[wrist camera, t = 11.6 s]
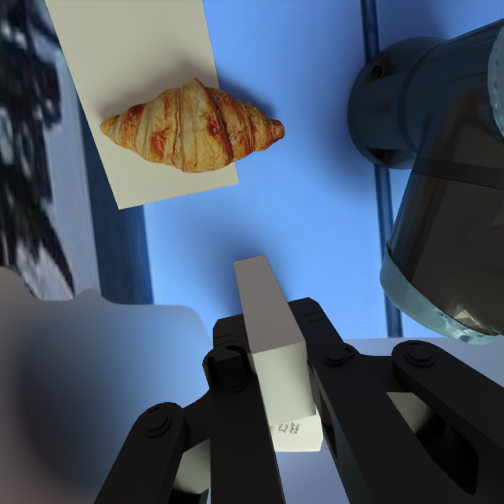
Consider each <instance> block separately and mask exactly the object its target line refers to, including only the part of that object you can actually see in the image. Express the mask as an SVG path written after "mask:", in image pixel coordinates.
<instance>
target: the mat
mask: <svg viewBox="0 0 504 504" xmlns="http://www.w3.org/2000/svg"><path fill="white" fill-rule="evenodd" d="M45 2H46V5H47V8H48V11H49V14H50V16H51V19H52V22H53V25H54V28H55V30H56V33H57V36H58V39H59V42H60V45H61V47H62V50H63V53H64V56H65V59H66V61H67V64H68V67H69V70H70V73H71V76H72V78H73V81H74V84H75V87H76V90H77V92H78V95H79V98H80V101H81V104H82V107H83V109H84V112H85V115H86V118H87V121H88V123H89V126H90V129H91V132H92V135H93V138H94V140H95V143H96V146H97V149H98V152H99V154H100V157H101V160H102V163H103V166H104V169H105V171H106V174H107V177H108V180H109V183H110V185H111V188H112V191H113V194H114V197H115V200H116V202H117V205H118V208H119V209H124V208H128V207H133V206H137V205H142V204H147V203H151V202H156V201H161V200H165V199H170V198H175V197H179V196H184V195H189V194H193V193H198V192H203V191H207V190H212V189H217V188H221V187H226V186H230V185H235V184H239V180H238V175H237V170H236V165H235V162H232V163H231V164H229V165H228V166H226V167H223V168H221V169H218V170H215V171H208V172H202V173H185V172H183V171H182V170H181V169H176V168H175V167H173V166H168V165H165V164H161V163H159V164H157V163H152V162H149V161H146V160H145V159H143V158H142V157H141V156H140V155H138V154H137V153H134V152H132V151H131V150H129V149H125V148H123V147H121V146H118V145H116V144H115V143H114V142H113V141H112V140H111V139H110V138H108V137H107V136H106V135H104V134H103V133H102V131H101V129H100V127H99V126H100V125H101V123H102V122H103V121H105V120H106V118H107V117H108V116H112V115H119V114H121V113H122V112H125V111H126V110H128V109H129V108H130V107H132V106H134V105H138V104H143V103H146V102H150V101H152V100H154V99H155V98H157V97H158V95H159V94H160V93H162V92H164V90H166V89H174V88H181V87H182V85H183V84H184V83H185V82H186V81H187V80H188V79H189V78H192V77H194V78H197V79H198V80H199V81H201V82H202V84H203V85H204V86H205V87H210V88H216V89H220V87H219V82H218V77H217V72H216V67H215V62H214V57H213V53H212V48H211V43H210V38H209V33H208V28H207V23H206V18H205V13H204V8H203V3H202V0H45Z"/></svg>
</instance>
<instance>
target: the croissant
mask: <svg viewBox="0 0 504 504" xmlns="http://www.w3.org/2000/svg"><path fill="white" fill-rule="evenodd" d="M99 127H100V129H101V131H102V133H103V134H104V135H106V136H107V137H108V138H110V139H111V140H112V141H113V142H114V143H115V144H116V145H118V146H121V147H123V148H125V149H129V150H131V151H132V152H134V153H137V154H138V155H140V156H141V157H142V158H143V159H145V160H146V161H149V162H152V163H157V164H159V163H161V164H165V165H168V166H173V167H175V168H176V169H181V170H182V171H183V172H185V173H202V172H208V171H215V170H218V169H221V168H223V167H226V166H228V165H229V164H231V163H232V162H235V161H237V160H240V159H242V158H244V157H246V156H247V155H249V154H250V153H252V152H253V151H263V150H266V149H267V148H268V147H269V146H271V145H272V144H273V143H275V142H277V141H278V140H279V139H282V138H283V137H284V135H285V131H284V126H283V125H282V123H281V122H280V121H279V120H275V119H268V118H266V117H265V116H264V115H263V113H262V112H261V111H260V110H259V109H258V108H257V107H255V106H254V105H252V104H250V103H249V102H247V103H244V102H242V101H241V100H240V99H233V98H232V97H231V96H230V95H229V94H228V93H227V92H225V91H223V90H221V89H216V88H210V87H205V86H204V85H203V84H202V82H201V81H199V80H198V79H197V78H194V77H192V78H189V79H188V80H187V81H186V82H185V83H184V84H183V85H182V87H181V88H174V89H166V90H164V92H162V93H160V94H159V95H158V97H157V98H155V99H154V100H152V101H150V102H146V103H143V104H138V105H134V106H132V107H130V108H129V109H128V110H126V111H125V112H122V113H121V114H119V115H112V116H108V117H107V118H106V120H105V121H103V122H102V123H101V125H100V126H99Z"/></svg>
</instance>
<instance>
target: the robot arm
mask: <svg viewBox="0 0 504 504" xmlns="http://www.w3.org/2000/svg"><path fill="white" fill-rule="evenodd" d="M348 125H349V130H350V134H351V137H352V140H353V142H354V144H355V146H356V147H357V149H358V150H359V152H360V153H361V154H362V155H363V156H364V157H365V158H366V159H368V160H369V161H370V162H372V163H374V164H376V165H378V166H381V167H386V168H391V169H399V170H403V169H412V171H411V173H410V176H409V179H408V183H407V186H406V189H405V192H404V195H403V198H402V202H401V205H400V208H399V211H398V214H397V217H396V220H395V223H394V226H393V229H392V232H391V235H390V238H389V240H388V241H387V243H386V246H385V255H384V260H383V264H382V267H381V271H380V283H381V286H382V288H383V290H384V291H385V293H386V295H387V297H388V298H389V299H390V300H391V302H392V303H393V304H394V305H395V306H396V307H398V308H399V309H400V310H401V311H402V312H403V313H405V314H406V315H407V316H409V317H410V318H412V319H413V320H415V321H416V322H418V323H420V324H421V325H423V326H425V327H426V328H428V329H430V330H432V331H434V332H436V333H438V334H440V335H443V336H445V337H448V338H451V339H454V340H456V339H458V338H459V339H460V340H462V341H464V342H465V343H468V344H476V345H483V344H488V343H490V342H492V341H493V340H495V339H497V338H498V337H499V336H500V334H501V335H503V336H504V18H503V19H500V20H498V21H495V22H493V23H490V24H488V25H485V26H483V27H480V28H478V29H475V30H473V31H470V32H468V33H465V34H463V35H460V36H458V37H455V38H453V39H451V40H444V39H438V38H432V37H415V38H409V39H406V40H403V41H400V42H398V43H396V44H394V45H391V46H389V47H387V48H386V49H384V50H382V51H381V52H379V53H378V54H377V55H376V56H374V57H373V58H372V59H371V60H370V61H369V62H368V63H367V65H366V66H365V67H364V68H363V70H362V71H361V73H360V74H359V76H358V78H357V80H356V82H355V84H354V86H353V89H352V92H351V95H350V100H349V105H348ZM233 264H234V269H235V274H236V279H237V285H238V290H239V295H240V300H241V305H242V310H243V314H239V315H235V316H231V317H227V318H222V319H218V320H217V322H216V324H215V326H214V327H213V349H212V350H211V351H210V352H208V354H207V355H206V356H205V357H204V360H203V364H202V366H203V369H204V372H205V376H206V379H207V382H208V385H209V388H210V389H209V390H208V391H207V393H206V394H205V395H204V396H202V397H201V398H200V399H198V400H197V401H195V402H194V403H192V404H190V405H188V406H186V407H184V408H181V407H180V406H179V405H177V404H176V403H172V402H164V403H160V404H156V405H155V406H153V407H151V408H149V409H147V410H146V411H145V412H144V413H142V415H140V416H139V417H138V419H137V420H136V422H135V423H134V425H133V426H132V428H131V430H130V432H129V434H128V436H127V438H126V440H125V442H124V444H123V446H122V448H121V450H120V452H119V454H118V456H117V458H116V460H115V462H114V464H113V466H112V468H111V470H110V472H109V474H108V476H107V478H106V480H105V482H104V484H103V486H102V488H101V490H100V492H99V494H98V496H97V498H96V500H95V502H94V504H206V502H207V498H208V493H209V487H211V504H286V501H285V497H284V492H283V488H282V482H281V478H280V473H279V468H278V464H277V459H276V455H275V450H274V445H273V441H272V436H271V432H270V427H271V426H275V425H279V424H282V423H286V422H290V421H294V420H298V419H302V418H306V417H310V416H314V415H317V413H316V408H317V410H318V413H319V415H320V419H321V425H322V432H323V439H324V445H325V449H329V450H330V452H331V455H332V458H333V460H334V463H335V466H336V468H337V471H338V473H339V476H340V479H341V481H342V484H343V486H344V489H345V492H346V494H347V497H348V500H349V502H350V504H504V388H503V387H502V386H500V385H499V384H497V383H495V382H494V381H492V380H491V379H489V378H487V377H486V376H484V375H483V374H481V373H480V372H478V371H476V370H475V369H473V368H471V367H470V366H468V365H467V364H465V363H464V362H462V361H460V360H459V359H457V358H456V357H454V356H452V355H451V354H449V353H448V352H446V351H445V350H443V349H441V348H440V347H438V346H436V345H434V344H431V343H429V342H424V341H420V340H408V341H405V342H401V343H399V344H398V345H396V346H395V347H394V348H393V351H392V354H391V355H392V356H370V355H364V354H360V353H359V352H358V351H357V350H356V349H355V348H354V347H353V346H351V345H349V344H347V343H344V342H343V340H342V339H341V337H340V336H339V334H338V333H337V331H336V329H335V328H334V326H333V325H332V323H331V322H330V320H329V319H328V317H327V316H326V314H325V312H323V309H322V308H321V306H320V305H319V303H318V302H316V301H314V300H313V299H311V298H309V297H307V298H303V299H299V300H294V301H290V302H287V301H286V299H285V297H284V295H283V292H282V290H281V288H280V286H279V284H278V282H277V280H276V277H275V275H274V273H273V271H272V269H271V267H270V265H269V262H268V260H267V258H266V256H265V255H261V256H256V257H252V258H248V259H243V260H239V261H235V262H233ZM315 405H316V407H315Z"/></svg>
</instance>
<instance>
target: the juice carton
mask: <svg viewBox="0 0 504 504" xmlns="http://www.w3.org/2000/svg"><path fill="white" fill-rule="evenodd" d="M315 407H316V405H315ZM316 413H317V415H314V416H310V417H306V418H302V419H298V420H294V421H290V422H286V423H282V424H279V425H275V426H271V427H270V432H271V436H272V441H273V445H274V450H275V451H285V452H286V451H287V452H302V451H313V452H314V451H320V447H321V443H322V439H323V432H322V425H321V419H320V415H319V413H318V410H317V408H316Z"/></svg>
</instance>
